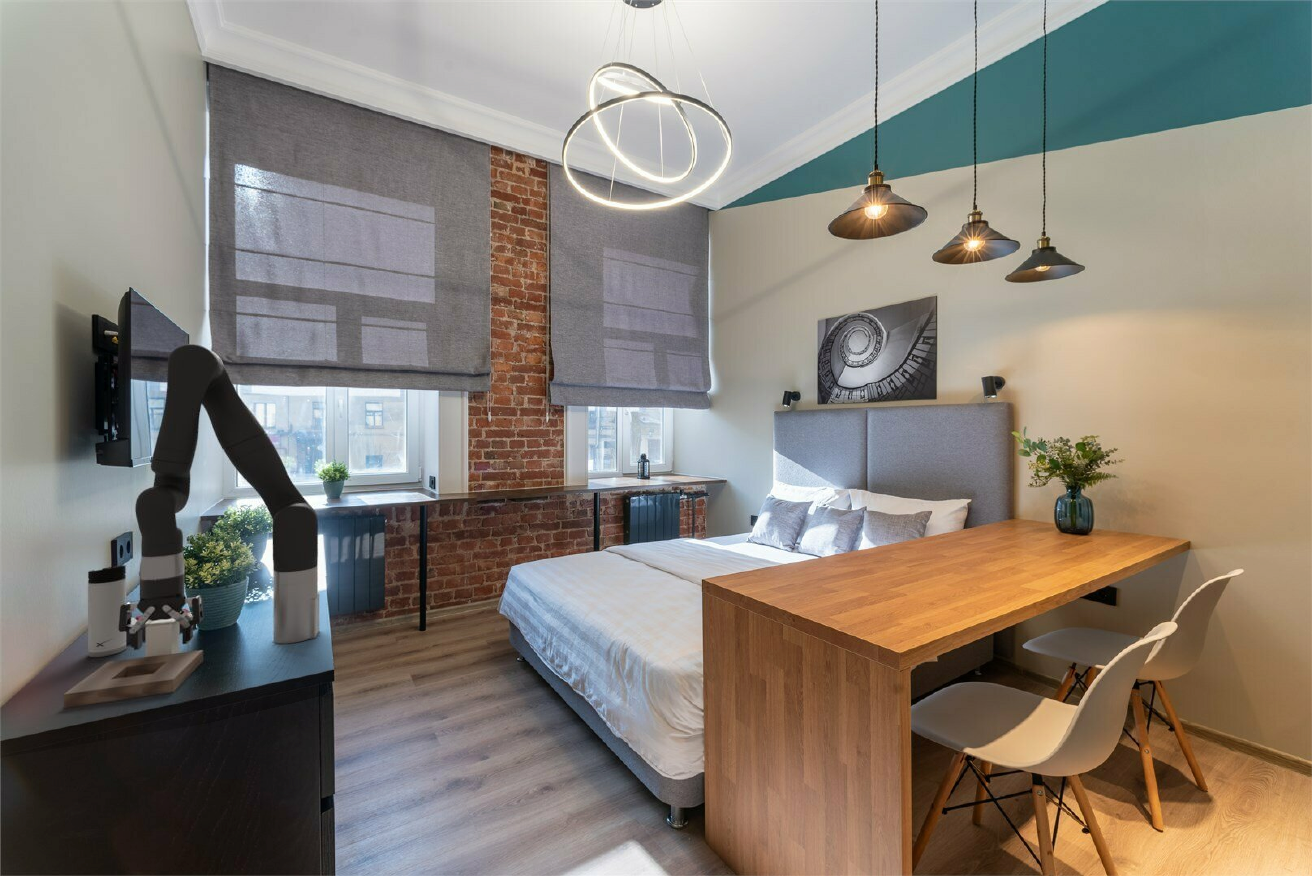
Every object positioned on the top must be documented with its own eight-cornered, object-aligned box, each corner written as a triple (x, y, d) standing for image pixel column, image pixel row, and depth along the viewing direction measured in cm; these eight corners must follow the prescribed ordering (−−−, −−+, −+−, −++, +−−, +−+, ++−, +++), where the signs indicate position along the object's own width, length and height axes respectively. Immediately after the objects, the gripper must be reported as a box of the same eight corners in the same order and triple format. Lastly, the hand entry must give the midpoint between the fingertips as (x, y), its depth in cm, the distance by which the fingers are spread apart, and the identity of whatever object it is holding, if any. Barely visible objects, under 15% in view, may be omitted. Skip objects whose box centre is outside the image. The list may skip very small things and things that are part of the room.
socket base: (203, 661, 122) (203, 649, 122) (173, 691, 108) (173, 679, 108) (108, 673, 116) (108, 661, 116) (63, 707, 101) (63, 694, 101)
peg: (179, 652, 127) (179, 618, 127) (171, 659, 123) (171, 624, 123) (154, 655, 125) (154, 620, 125) (145, 663, 121) (145, 627, 121)
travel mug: (103, 658, 124) (102, 569, 124) (80, 656, 125) (80, 568, 125) (134, 648, 130) (134, 563, 130) (112, 646, 131) (112, 562, 131)
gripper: (207, 567, 130) (207, 635, 130) (129, 573, 125) (129, 644, 125) (195, 574, 124) (195, 647, 124) (112, 581, 118) (112, 656, 118)
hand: (162, 645), depth 124 cm, fingers open, 8 cm apart
